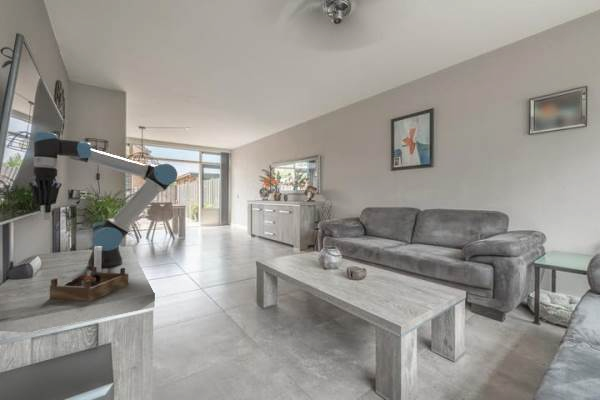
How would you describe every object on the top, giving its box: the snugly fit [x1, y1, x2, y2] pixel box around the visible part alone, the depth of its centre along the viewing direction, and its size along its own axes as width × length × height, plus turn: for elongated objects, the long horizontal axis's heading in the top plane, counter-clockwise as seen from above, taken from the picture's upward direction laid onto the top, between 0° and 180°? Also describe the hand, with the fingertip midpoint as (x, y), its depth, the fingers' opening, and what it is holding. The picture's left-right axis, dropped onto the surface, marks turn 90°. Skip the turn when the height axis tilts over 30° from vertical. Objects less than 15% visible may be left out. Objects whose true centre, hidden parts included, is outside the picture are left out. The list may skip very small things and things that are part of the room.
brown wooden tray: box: [49, 267, 129, 302], centre depth 103 cm, size 18×16×7 cm
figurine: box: [86, 246, 109, 276], centre depth 116 cm, size 7×9×15 cm
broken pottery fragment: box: [64, 273, 101, 287], centre depth 102 cm, size 12×10×8 cm
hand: (45, 219), depth 117 cm, fingers closed
